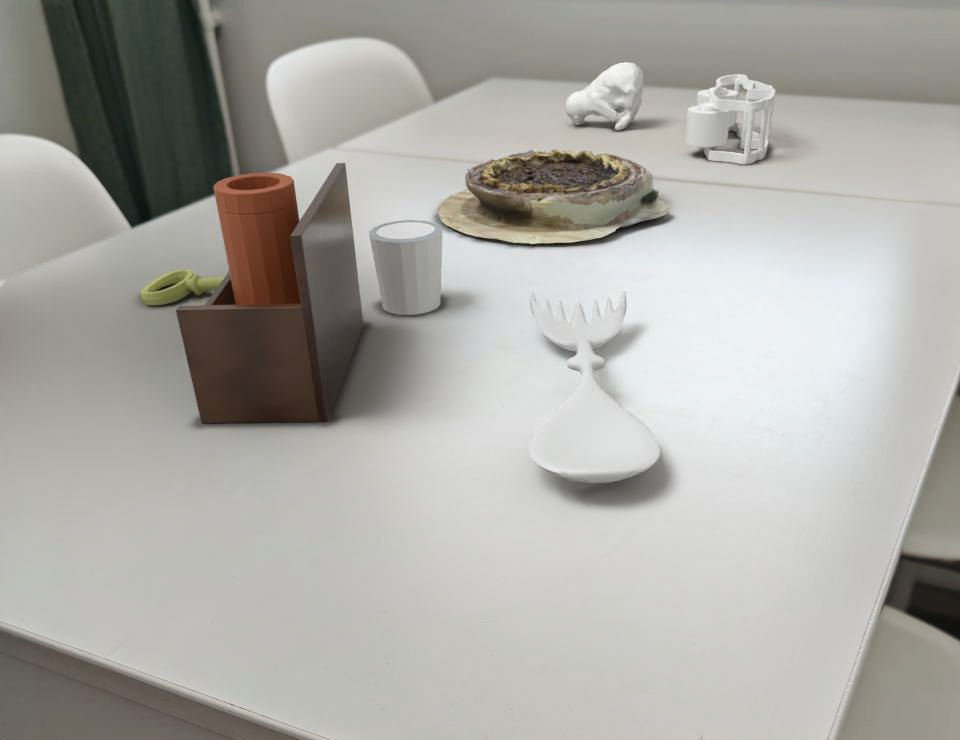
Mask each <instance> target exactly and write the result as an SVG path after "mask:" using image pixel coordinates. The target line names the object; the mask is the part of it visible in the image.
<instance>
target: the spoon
mask: <svg viewBox="0 0 960 740" xmlns="http://www.w3.org/2000/svg"><path fill="white" fill-rule="evenodd" d="M529 298H530V300H529V307H530V311H531V314H532V317H533V319H534V322H535V324H536V326H537V329H538V330H539V331H540V333H541V334H542V335H543V336H544V338H546V339H547V340H548V341H549V342H550V343H553V344H555V345H556V346H558V347H559V348H562V349H565V350H568V351H572V352H576V353H575V355H574V356H572V357H569V358H568V359H567V360H566V363H565V364H566V367H567V368H568V369H570V370H572V371H576V372H578V373H580V380H579V382H578V385H577V387H576V388H575V389H574V391H573V392H572V393H571V394H570V395H569V396H568V397H566V399H564V400H563V401H562V402H561V403H560V404H558V406H557V407H556V408H555V409H554V410H553V411H551V412H550V413H549V414H548V415H547V416H546V417H545V418H543V420H541V421H540V423H538V424H537V426H536V427H535V429H534V430H533V432H532V434H531V437H530V438H529V439H530V440H529V442H528V454H529V456H530V458H531V459H532V461H533V462H534V463H535V464H536V465H537V466H539V467H540V468H541V469H543V470H544V471H546V472H548V473H550V474H551V475H554V476H558V477H560V478H563V479H566V480H569V481H575V482H580V483H586V484H588V483H590V484H604V483H606V484H607V483H613V482H619V481H624V480H626V479H629V478H632V477H635V476H637V475H639V474H641V473H643V472H645V471H647V470H649V469H650V468H651V467H652V466H653V465H654V464H655V463H656V462H657V461H658V460H659V458H660V455H661V448H660V445H659V443H658V440H657V438H656V436H655V434H654V433H653V431H652V430H651V429H650V428H649V426H648V425H647V424H646V423H645V422H643V421H642V420H641V419H640V418H639V417H637V416H636V415H634V413H632V412H631V411H630V410H628V409H627V408H626V407H624V406H623V405H622V404H620V403H619V402H618V401H617V400H616V399H615V398H613V397H612V396H611V395H609V394H608V393H607V392H606V391H605V390H604V389H603V388H602V386H600V384H599V383H598V381H597V378H596V376H595V372H596V371H599V370H602V369H603V368H605V367H606V365H607V361H606V359H605V358H604V357H602V356H600V355H598V354H595V352H594V350H596V349H598V348H600V347H602V346H604V345H606V344H607V343H609V342H610V341H612V340H613V339H614V338H615V337H616V336H617V334H618V333H619V332H620V331H621V329H622V326H623V324H624V321H625V317H626V312H627V307H628V305H627V302H628V301H627V293H626V291H625V290H622V292H621V294H620V299H619V302H618V306H617V307H615V309H614V307H613V303H612V299H611V297H610V296H608V297H607V299H606V307H605V312H604V316H603V317H602V316H601V312H600V307H599V303H598V300H597V299H595V300H594V301H593V302H594V303H593V309H592V316H591V320H590V323H589V324H588V322H587V319H586V315H585V311H584V308H583V305H582V304H581V303H580V302H579V301H576V303H575V305H574V307H573V311H572V316H571V322H570V323H568V321H567V319H566V314H565V311H564V306H563V303H562V301H561V300H558V304H557V313H556V314H557V315H556V316H554V314H553V311H552V307H551V305H550V302H549V301H550V300H549V299H548V298H545V303H544V307H543V309H542V308H541V307H540V305H539V304H538V301H537V299H536V295H534V293H531V294H530V297H529Z"/></svg>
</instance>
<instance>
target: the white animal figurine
mask: <svg viewBox="0 0 960 740" xmlns="http://www.w3.org/2000/svg"><path fill="white" fill-rule="evenodd" d="M644 85H645V83H644V73H643V71H642V69H641V67H639V66H638V65H637V64H636V63H635V62H629V61H626V62H619V63H615V64H614V65H611V66H610V67H608V68H607V69H605V70H604V71H602V72H601V73H600V74H599V75H598V76H597V77H596V78H595V79H593V80H592V82H591V83H590V84H589V85H588V86H586V87H585V88H584V89H582V90H578V91H575V92H573V93H571V94H570V95H569V96H568V97H567V99H566V100H565V112H566V113H565V114H566V115H567V117H568V118H570V120H571V122H572V123H573V125H574V126H580V125H583V124H584V123H585V121H586V118H587V117H588V116H590V115H593V116H597V117H603V118H605V119H607V120H610V121H615V120H616V119H617V117H618V114H621V113H623V112H625V113H624V114H623V115H622V117H620V118H619V119H618V120H617V122H616V123H615V125H614V129H615V131H618V132H619V131H622V130H624V129H625V128H627V126H629V124H630V123H632V121H633V120H634V119H635V117H636V116H637V115H638V112H639V110H640V107H641V106H642V102H643V92H644V87H645V86H644Z"/></svg>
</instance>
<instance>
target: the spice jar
mask: <svg viewBox="0 0 960 740" xmlns="http://www.w3.org/2000/svg"><path fill="white" fill-rule="evenodd" d="M212 187H213V193H214V198H215V203H216V207H217V213H218V219H219V225H220V229H221V235H222V240H223V246H224V251H225V257H226V262H227V268H228V272H230V277H231V283H232V288H233V293H234V299H235V304H236V305H252V304H300V299H299V292H298V285H297V278H296V272H295V265H294V258H293V252H292V245H291V238H290V235H291V234H292V232H293V231H294V229H295V228H296V226H297V224H298V223H299V221H300V214H299V207H298V201H297V195H296V194H297V193H296V186H295V180H294V178H292V176H290V175H287V174H284V173H279V172H251V173H250V172H249V173H243V174H237V175H234V176H229V177H225V178H223V179H221V180H218V181H216V182H215V183H214V185H213V186H212Z"/></svg>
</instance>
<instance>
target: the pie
mask: <svg viewBox="0 0 960 740" xmlns="http://www.w3.org/2000/svg"><path fill="white" fill-rule="evenodd" d="M464 177H465V178H464V179H465V180H464V184H465V187H466V189H464V190H462V191H459V192H457V193H454V194H452V195H450V196H449V197H447V198H446V199H445V200H444V201H443V202H441V204H440V206H438V218H439V219H440V221H441V222H442V223H443V224H444V225H445V226H446V227H448V228H449V227H450V228H451V229H453V230H455V231H458V232H461V233H463V234H466V235H469V236H473V237H477V238H483V239H489V240H490V239H493V240H499V241H502V242H507V243H513V244H517V243H518V244H529V245H535V244H555V243H557V244H558V243H559V244H560V243H565V244H566V243H567V244H568V243H576V242H577V243H578V242H583V241H589V240H594V239H596V240H597V239H601V238H603V237H606V236H608V235H611V234H612V233H614V232H616V230H617V229H619V228H627V227H630V226H633V225H636V224H638V223H640V222H641V223H642V222H646V221H652V220H655V219H658V218H661V217H664V216H665V215H667V214H668V213H669V212H670V211H671V207H670V206H669V205H668V204H665V201H664V200H661V199H660V192H659V190H655V189H654V175H653V174H652V172H651V171H649V170H648V169H647V168H646V167H644V166H643V165H641V164H639V163H637V162H634V161H633V160H631V159H628V158H626V157H623V156H619V155H616V154H612V153H599V154H594V153H593V152H592V151H591V150H581V151H579V152H577V153H576V152H575V151H572V150H571V149H567V150H562V151H560V150H558V149H551V150H550V151H549V152H547V151H546V150H544V151H539V150H538V151H534V150H533V149H529V150H528V151H523V152H517V153H512V154H510V155H507V156H504V157H502V158H499V159H496V160H495V159H493V158H491V159H488V160H487V161H486V162H481V163H478V164H476V165H474V166H471V168H467V172H466V173H465V176H464Z"/></svg>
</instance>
